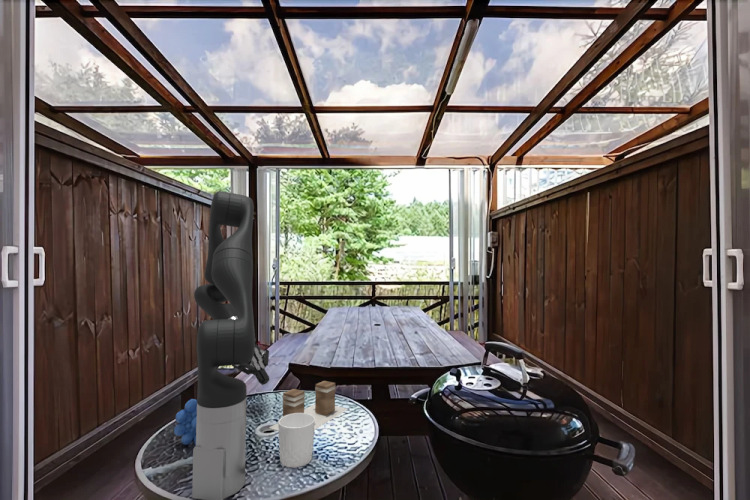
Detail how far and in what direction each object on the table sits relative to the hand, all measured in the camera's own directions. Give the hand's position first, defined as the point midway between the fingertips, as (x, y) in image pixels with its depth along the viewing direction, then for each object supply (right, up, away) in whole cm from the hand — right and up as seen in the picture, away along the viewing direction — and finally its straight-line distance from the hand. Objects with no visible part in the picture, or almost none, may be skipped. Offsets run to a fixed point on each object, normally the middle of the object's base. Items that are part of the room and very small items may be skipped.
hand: (266, 382), depth 106 cm
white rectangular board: (+13, -11, -2) cm, 17 cm away
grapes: (-12, -10, -14) cm, 21 cm away
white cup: (+14, -10, -24) cm, 29 cm away
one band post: (+17, -9, +2) cm, 19 cm away
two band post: (+9, -9, -5) cm, 14 cm away
